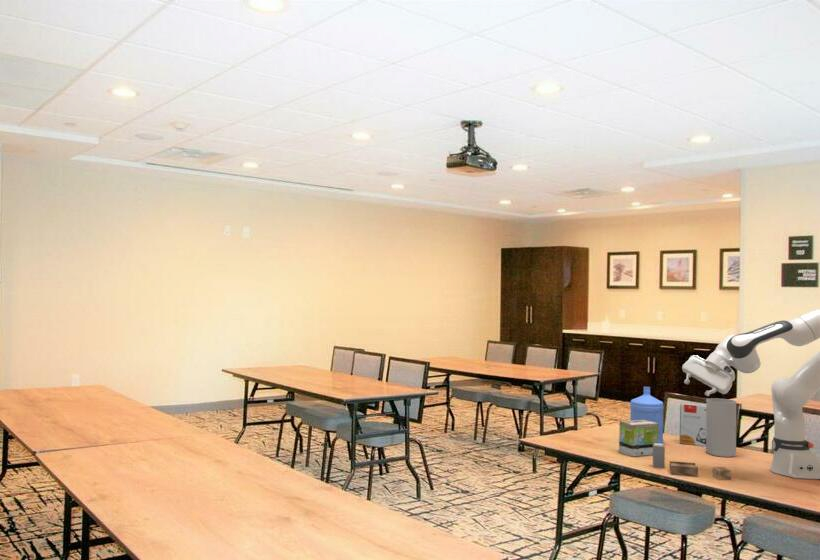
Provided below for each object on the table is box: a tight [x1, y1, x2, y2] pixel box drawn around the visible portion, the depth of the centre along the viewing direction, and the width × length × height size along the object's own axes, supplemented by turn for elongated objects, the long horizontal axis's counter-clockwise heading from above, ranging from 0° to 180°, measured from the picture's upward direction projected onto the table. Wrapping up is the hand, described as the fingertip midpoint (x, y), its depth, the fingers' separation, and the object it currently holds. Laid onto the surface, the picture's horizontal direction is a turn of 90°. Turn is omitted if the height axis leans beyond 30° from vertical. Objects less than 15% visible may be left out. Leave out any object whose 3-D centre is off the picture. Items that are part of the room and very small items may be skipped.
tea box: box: [618, 420, 659, 457], centre depth 302 cm, size 15×10×15 cm
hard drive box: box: [679, 401, 706, 448], centre depth 324 cm, size 16×8×20 cm, turn 62°
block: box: [712, 466, 732, 481], centre depth 262 cm, size 5×5×4 cm
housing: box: [652, 443, 666, 469], centre depth 279 cm, size 4×4×10 cm
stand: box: [669, 460, 699, 478], centre depth 269 cm, size 10×8×4 cm
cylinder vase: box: [705, 397, 737, 458], centre depth 303 cm, size 12×12×25 cm
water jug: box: [629, 386, 664, 445], centre depth 324 cm, size 16×16×28 cm
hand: (695, 389), depth 272 cm, fingers open, 8 cm apart
